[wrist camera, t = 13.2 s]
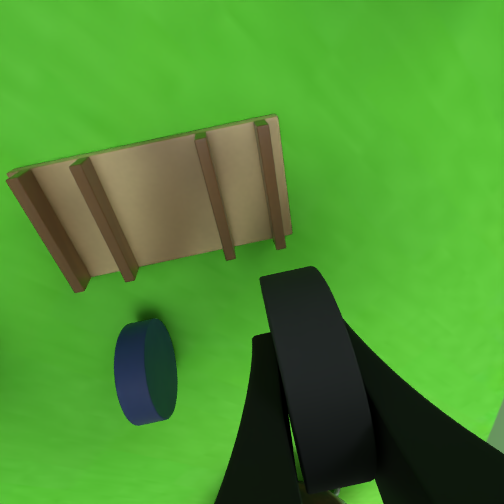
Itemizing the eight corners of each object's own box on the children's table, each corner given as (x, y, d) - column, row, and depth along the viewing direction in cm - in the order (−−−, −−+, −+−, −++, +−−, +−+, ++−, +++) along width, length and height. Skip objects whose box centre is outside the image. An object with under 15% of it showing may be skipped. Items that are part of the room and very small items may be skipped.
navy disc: (158, 362, 26) (145, 445, 21) (127, 304, 22) (103, 386, 17) (180, 357, 26) (173, 439, 21) (152, 298, 22) (136, 379, 17)
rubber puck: (276, 360, 15) (315, 534, 9) (251, 242, 12) (289, 406, 6) (314, 352, 15) (375, 521, 9) (300, 231, 12) (382, 385, 6)
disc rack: (75, 274, 21) (62, 296, 19) (13, 168, 17) (-11, 183, 15) (290, 228, 21) (298, 245, 19) (275, 113, 17) (283, 121, 15)
